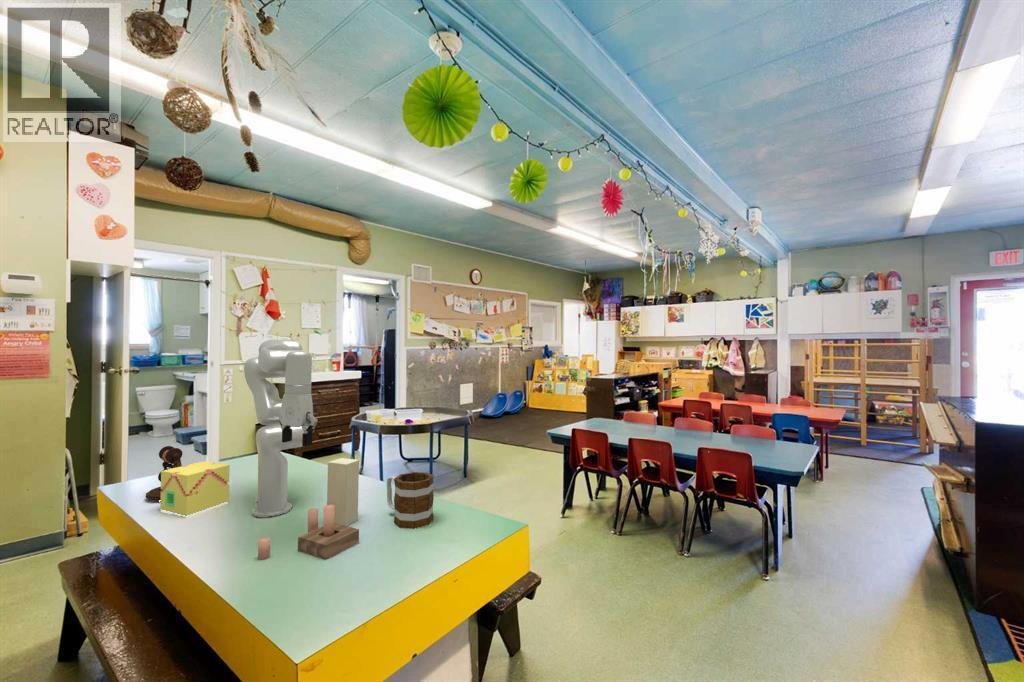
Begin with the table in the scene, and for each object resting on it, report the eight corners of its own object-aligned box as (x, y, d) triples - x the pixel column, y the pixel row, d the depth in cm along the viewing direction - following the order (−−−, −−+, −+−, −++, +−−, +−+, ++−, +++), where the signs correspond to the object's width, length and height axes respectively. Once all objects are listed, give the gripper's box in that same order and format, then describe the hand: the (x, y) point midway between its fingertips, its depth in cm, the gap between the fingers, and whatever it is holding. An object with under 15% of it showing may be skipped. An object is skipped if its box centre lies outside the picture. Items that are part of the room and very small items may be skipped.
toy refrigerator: (360, 519, 147) (360, 459, 148) (345, 527, 140) (346, 464, 141) (341, 516, 150) (342, 457, 150) (326, 524, 143) (326, 462, 144)
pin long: (321, 547, 126) (321, 507, 126) (329, 543, 129) (329, 503, 129) (328, 549, 125) (328, 508, 125) (336, 545, 127) (336, 505, 128)
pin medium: (305, 536, 134) (305, 510, 134) (313, 532, 136) (314, 507, 137) (312, 538, 132) (312, 512, 133) (320, 534, 135) (320, 509, 135)
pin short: (255, 558, 120) (255, 540, 120) (265, 553, 122) (266, 536, 122) (262, 560, 118) (262, 542, 118) (272, 556, 121) (272, 538, 121)
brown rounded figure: (199, 494, 172) (199, 445, 173) (153, 506, 160) (154, 453, 161) (183, 488, 180) (184, 441, 181) (139, 498, 168) (140, 448, 168)
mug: (441, 518, 149) (441, 475, 149) (414, 532, 137) (415, 485, 137) (401, 507, 159) (401, 467, 159) (372, 519, 147) (373, 476, 147)
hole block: (297, 550, 124) (297, 536, 124) (331, 534, 135) (331, 522, 135) (325, 559, 119) (326, 545, 119) (358, 542, 129) (359, 529, 130)
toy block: (160, 512, 154) (161, 471, 154) (203, 499, 168) (204, 461, 168) (186, 518, 148) (187, 475, 149) (228, 504, 162) (229, 464, 163)
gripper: (269, 389, 135) (268, 442, 135) (306, 393, 128) (304, 449, 127) (291, 387, 142) (289, 438, 142) (326, 390, 134) (325, 444, 134)
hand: (296, 443), depth 135 cm, fingers open, 9 cm apart
